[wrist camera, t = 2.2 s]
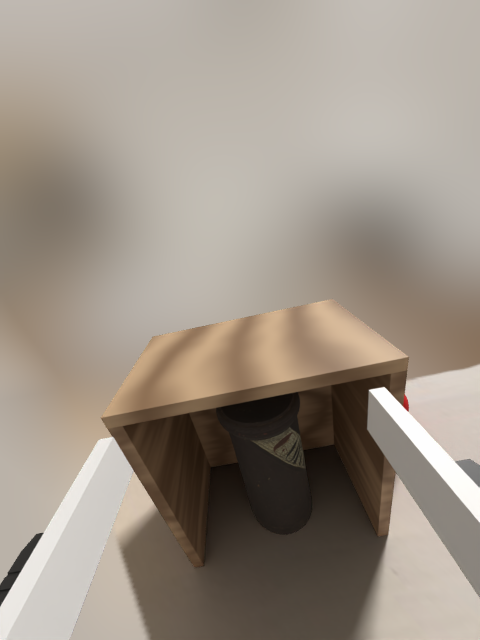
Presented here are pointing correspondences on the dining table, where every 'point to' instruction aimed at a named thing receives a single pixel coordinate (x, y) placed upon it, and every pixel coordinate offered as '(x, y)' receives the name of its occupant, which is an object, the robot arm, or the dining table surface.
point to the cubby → (247, 385)
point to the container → (271, 459)
